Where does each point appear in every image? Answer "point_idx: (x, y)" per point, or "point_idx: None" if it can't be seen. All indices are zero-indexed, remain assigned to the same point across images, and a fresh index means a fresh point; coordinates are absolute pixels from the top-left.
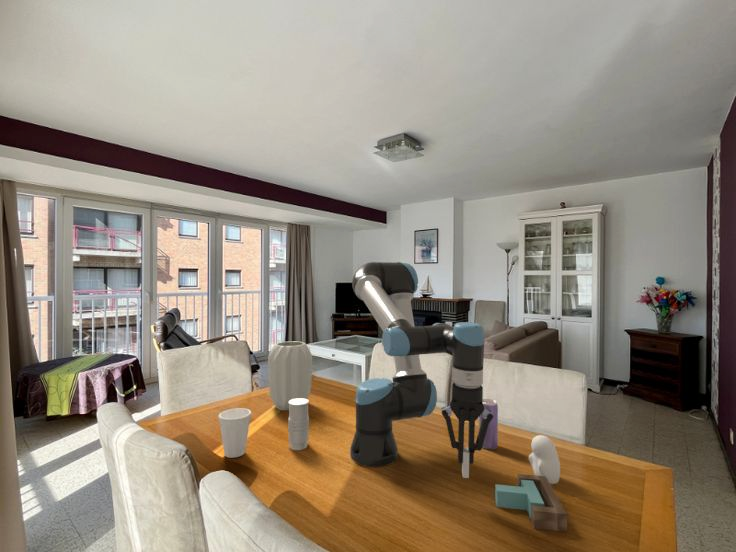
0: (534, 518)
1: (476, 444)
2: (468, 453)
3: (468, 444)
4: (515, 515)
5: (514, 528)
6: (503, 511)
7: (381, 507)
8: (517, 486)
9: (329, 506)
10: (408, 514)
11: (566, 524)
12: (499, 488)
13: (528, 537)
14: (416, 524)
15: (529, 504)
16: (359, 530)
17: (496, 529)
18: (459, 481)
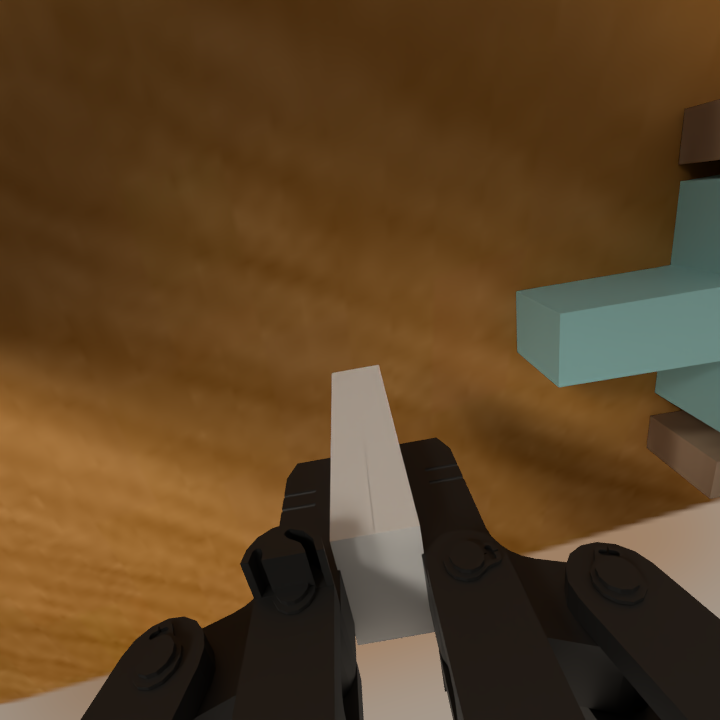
0: (681, 473)
1: (591, 690)
2: (422, 624)
3: (437, 619)
4: (592, 388)
5: (565, 471)
6: (542, 377)
7: (7, 526)
8: (709, 290)
9: None
10: (137, 528)
11: None
12: (578, 355)
13: (606, 500)
14: (191, 565)
15: (704, 397)
16: (21, 644)
17: (492, 498)
18: (300, 149)
